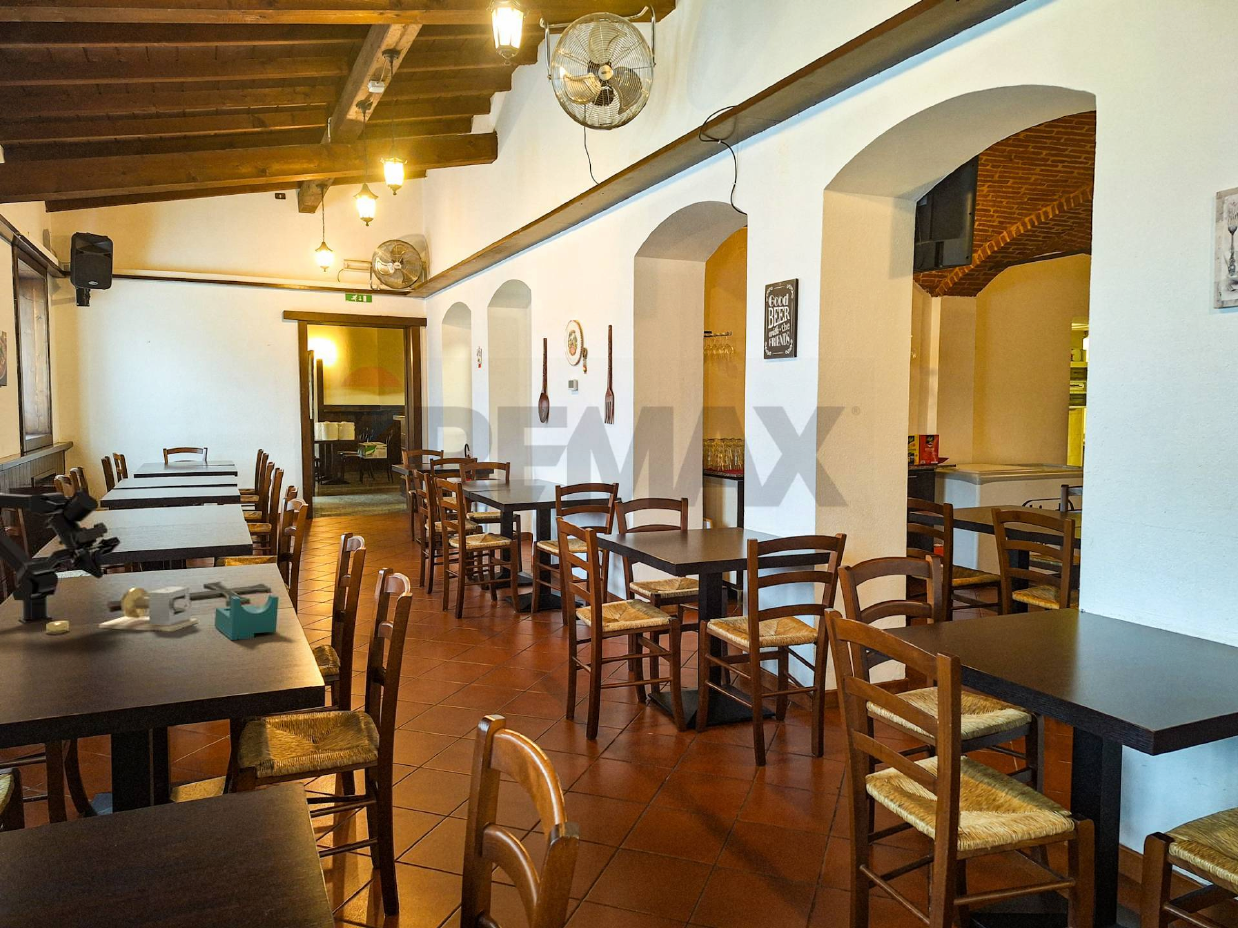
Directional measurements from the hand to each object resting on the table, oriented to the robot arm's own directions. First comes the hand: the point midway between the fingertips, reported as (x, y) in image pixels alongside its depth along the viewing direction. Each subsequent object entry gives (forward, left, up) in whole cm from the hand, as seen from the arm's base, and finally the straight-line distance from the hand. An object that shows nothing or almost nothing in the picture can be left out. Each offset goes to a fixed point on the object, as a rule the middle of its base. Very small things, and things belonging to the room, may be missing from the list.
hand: (100, 577), depth 230 cm
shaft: (+15, +9, -11) cm, 21 cm away
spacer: (0, -11, -13) cm, 17 cm away
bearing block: (+18, +10, -12) cm, 24 cm away
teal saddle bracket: (+38, +20, -13) cm, 45 cm away
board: (+12, +7, -13) cm, 19 cm away
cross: (-13, +30, -13) cm, 35 cm away
